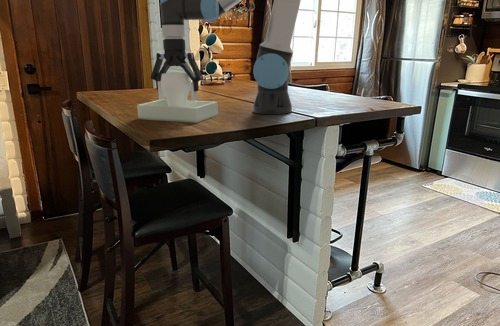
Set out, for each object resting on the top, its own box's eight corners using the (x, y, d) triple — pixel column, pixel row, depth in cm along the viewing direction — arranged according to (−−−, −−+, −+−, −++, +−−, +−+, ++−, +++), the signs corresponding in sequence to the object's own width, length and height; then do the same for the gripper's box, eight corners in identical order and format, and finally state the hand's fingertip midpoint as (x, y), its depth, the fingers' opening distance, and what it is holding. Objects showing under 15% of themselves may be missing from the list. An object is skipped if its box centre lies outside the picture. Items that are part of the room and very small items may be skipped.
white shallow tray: (217, 115, 144) (217, 101, 143) (197, 122, 130) (196, 108, 128) (163, 111, 153) (162, 99, 151) (138, 118, 138) (137, 105, 137)
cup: (186, 118, 135) (184, 74, 131) (158, 117, 137) (155, 74, 133) (196, 113, 145) (194, 72, 141) (170, 112, 147) (167, 72, 143)
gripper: (211, 38, 132) (213, 99, 138) (150, 39, 141) (154, 97, 147) (200, 37, 126) (203, 102, 132) (137, 38, 134) (142, 99, 140)
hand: (177, 100), depth 139 cm, fingers open, 13 cm apart
